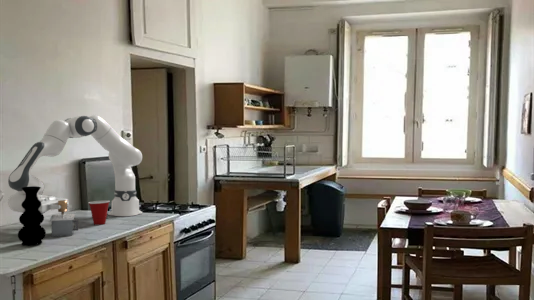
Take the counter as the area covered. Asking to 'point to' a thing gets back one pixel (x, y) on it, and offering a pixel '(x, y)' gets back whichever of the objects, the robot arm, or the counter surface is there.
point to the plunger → (62, 207)
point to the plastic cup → (99, 211)
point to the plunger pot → (63, 225)
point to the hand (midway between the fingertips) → (64, 206)
